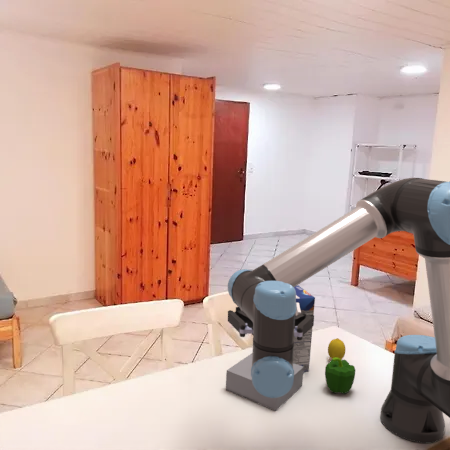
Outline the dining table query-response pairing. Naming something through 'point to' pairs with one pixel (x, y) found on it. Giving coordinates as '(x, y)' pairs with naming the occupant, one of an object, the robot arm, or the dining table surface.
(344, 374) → the bell pepper
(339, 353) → the lemon
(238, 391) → the hole block
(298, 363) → the juice carton
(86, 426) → the dining table surface
